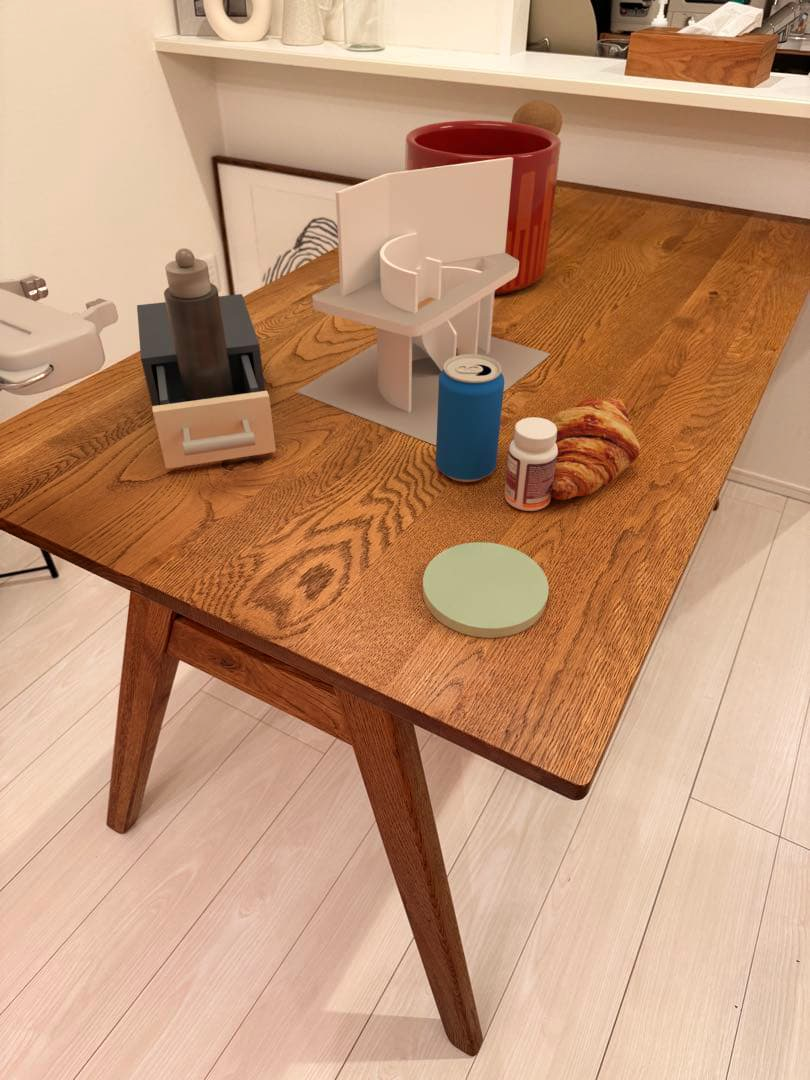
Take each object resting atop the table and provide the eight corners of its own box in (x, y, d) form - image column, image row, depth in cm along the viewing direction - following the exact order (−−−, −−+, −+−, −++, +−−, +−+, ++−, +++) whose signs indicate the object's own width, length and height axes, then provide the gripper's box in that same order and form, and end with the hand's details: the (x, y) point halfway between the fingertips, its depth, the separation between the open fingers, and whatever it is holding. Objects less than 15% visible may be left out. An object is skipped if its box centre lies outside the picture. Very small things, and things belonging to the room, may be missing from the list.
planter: (453, 239, 138) (459, 113, 125) (568, 267, 128) (588, 133, 115) (376, 277, 124) (373, 140, 111) (499, 312, 113) (512, 165, 100)
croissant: (585, 435, 94) (564, 376, 91) (666, 419, 88) (647, 355, 85) (526, 529, 79) (498, 463, 76) (620, 517, 73) (594, 445, 70)
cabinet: (267, 412, 91) (259, 343, 85) (157, 428, 88) (140, 358, 82) (250, 357, 102) (242, 293, 96) (151, 370, 99) (136, 304, 93)
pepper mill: (192, 437, 83) (156, 260, 70) (188, 413, 87) (154, 242, 74) (240, 430, 84) (213, 255, 72) (234, 407, 88) (208, 237, 75)
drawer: (282, 473, 80) (275, 416, 75) (168, 492, 77) (154, 433, 73) (257, 392, 93) (250, 339, 88) (159, 406, 90) (147, 352, 86)
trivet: (446, 650, 62) (446, 640, 61) (407, 564, 70) (407, 554, 69) (568, 622, 65) (570, 612, 64) (517, 542, 73) (518, 532, 72)
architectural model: (437, 446, 85) (445, 231, 70) (295, 391, 95) (275, 192, 80) (551, 354, 103) (577, 166, 88) (422, 315, 112) (425, 140, 97)
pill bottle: (556, 491, 79) (568, 421, 73) (541, 517, 76) (552, 445, 70) (513, 479, 80) (521, 410, 75) (496, 504, 77) (503, 433, 72)
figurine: (551, 213, 150) (565, 97, 137) (549, 224, 144) (564, 105, 132) (505, 210, 151) (515, 95, 138) (502, 221, 146) (512, 103, 133)
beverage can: (497, 486, 80) (508, 383, 72) (435, 485, 80) (440, 382, 72) (493, 452, 85) (502, 352, 77) (434, 451, 85) (438, 351, 77)
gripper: (-13, 353, 51) (148, 286, 60) (-166, 286, 60) (-6, 237, 68) (18, 434, 55) (165, 360, 64) (-130, 360, 64) (17, 304, 73)
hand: (75, 296), depth 66 cm, fingers open, 8 cm apart
